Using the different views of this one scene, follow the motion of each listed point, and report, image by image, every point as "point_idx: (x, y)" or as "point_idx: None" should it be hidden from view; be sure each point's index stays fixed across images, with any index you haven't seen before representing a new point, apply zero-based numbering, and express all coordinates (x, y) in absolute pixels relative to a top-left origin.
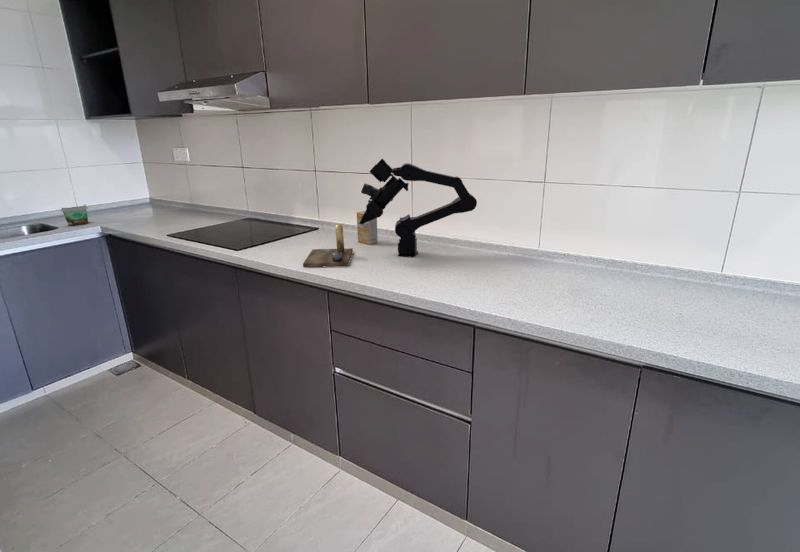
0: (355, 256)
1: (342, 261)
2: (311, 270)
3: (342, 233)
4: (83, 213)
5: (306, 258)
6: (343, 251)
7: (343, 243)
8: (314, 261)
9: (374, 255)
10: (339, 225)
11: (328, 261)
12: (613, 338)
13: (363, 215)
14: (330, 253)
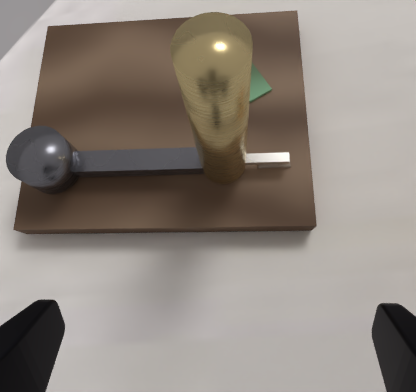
0: (213, 257)
1: (40, 199)
2: (11, 79)
3: (200, 124)
4: None
5: (128, 21)
6: (210, 179)
7: (212, 162)
8: (71, 65)
9: (226, 385)
10: (177, 55)
11: (56, 128)
12: None
13: (410, 357)
14: None
